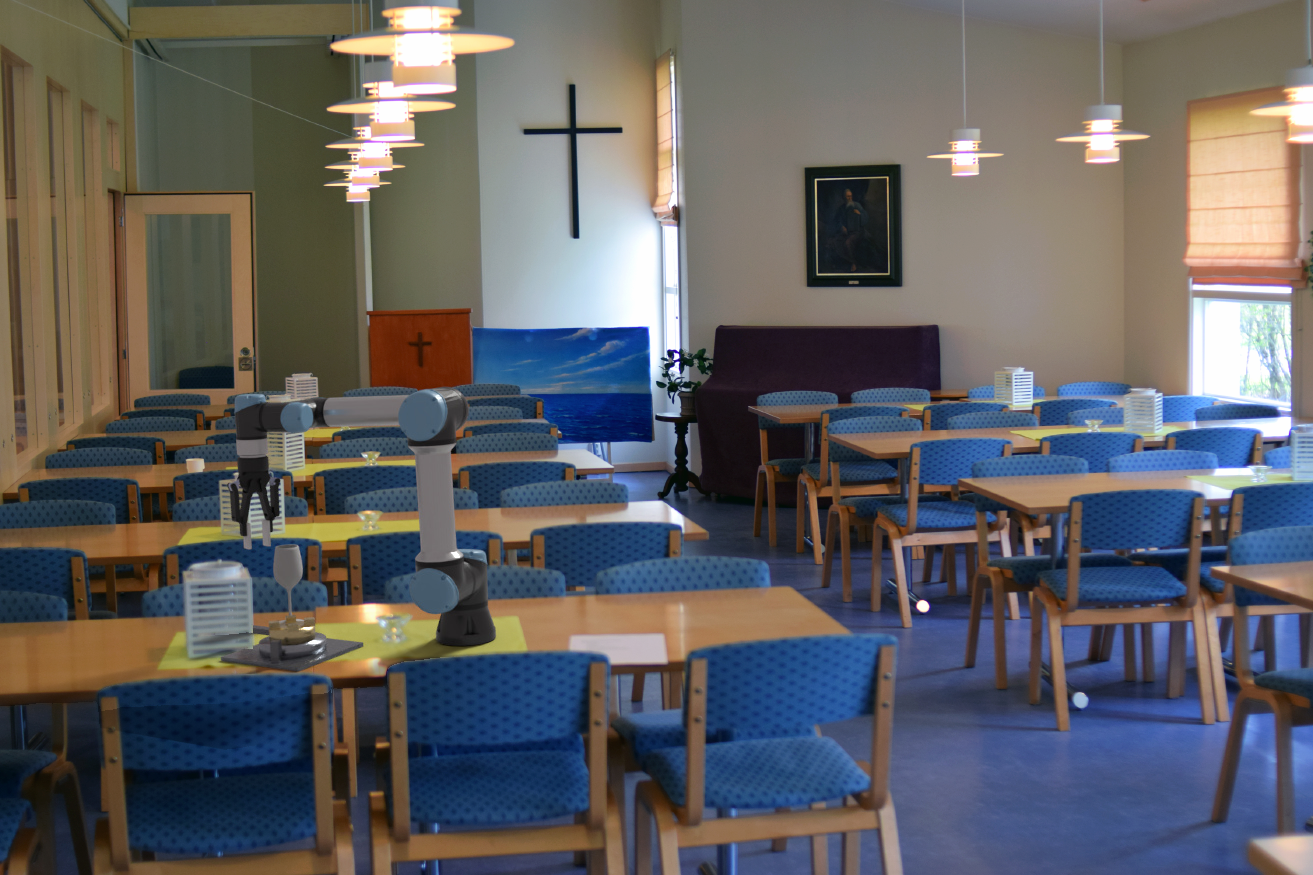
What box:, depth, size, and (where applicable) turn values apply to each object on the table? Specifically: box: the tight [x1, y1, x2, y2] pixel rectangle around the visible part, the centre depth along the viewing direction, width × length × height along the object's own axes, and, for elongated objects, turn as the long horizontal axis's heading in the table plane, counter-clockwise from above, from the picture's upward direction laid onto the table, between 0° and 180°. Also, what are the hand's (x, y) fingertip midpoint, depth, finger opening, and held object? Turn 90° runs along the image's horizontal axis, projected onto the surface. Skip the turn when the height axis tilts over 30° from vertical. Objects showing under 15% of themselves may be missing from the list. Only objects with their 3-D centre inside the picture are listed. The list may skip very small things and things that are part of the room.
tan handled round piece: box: [252, 614, 316, 644], centre depth 325 cm, size 23×11×7 cm, turn 64°
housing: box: [220, 631, 364, 672], centre depth 322 cm, size 24×24×6 cm
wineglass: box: [272, 544, 304, 623], centre depth 353 cm, size 8×8×21 cm
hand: (257, 546), depth 332 cm, fingers open, 4 cm apart
